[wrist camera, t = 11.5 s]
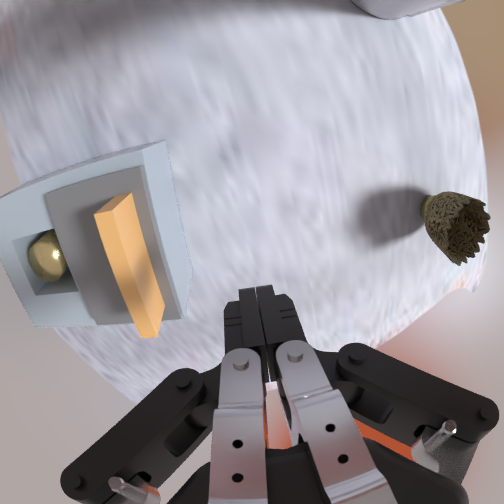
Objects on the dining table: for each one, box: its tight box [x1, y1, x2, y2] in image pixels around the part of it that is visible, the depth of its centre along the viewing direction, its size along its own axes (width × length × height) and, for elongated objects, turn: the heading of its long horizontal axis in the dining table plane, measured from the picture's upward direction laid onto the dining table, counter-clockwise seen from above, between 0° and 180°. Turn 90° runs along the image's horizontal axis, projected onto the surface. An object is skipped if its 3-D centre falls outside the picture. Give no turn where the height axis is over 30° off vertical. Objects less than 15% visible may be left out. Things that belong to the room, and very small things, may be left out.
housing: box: [0, 140, 193, 327], centre depth 22 cm, size 18×14×8 cm
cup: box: [421, 192, 490, 266], centre depth 25 cm, size 8×7×8 cm
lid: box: [45, 165, 182, 338], centre depth 17 cm, size 8×12×4 cm, turn 6°
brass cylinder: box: [29, 229, 68, 282], centre depth 22 cm, size 4×4×6 cm
